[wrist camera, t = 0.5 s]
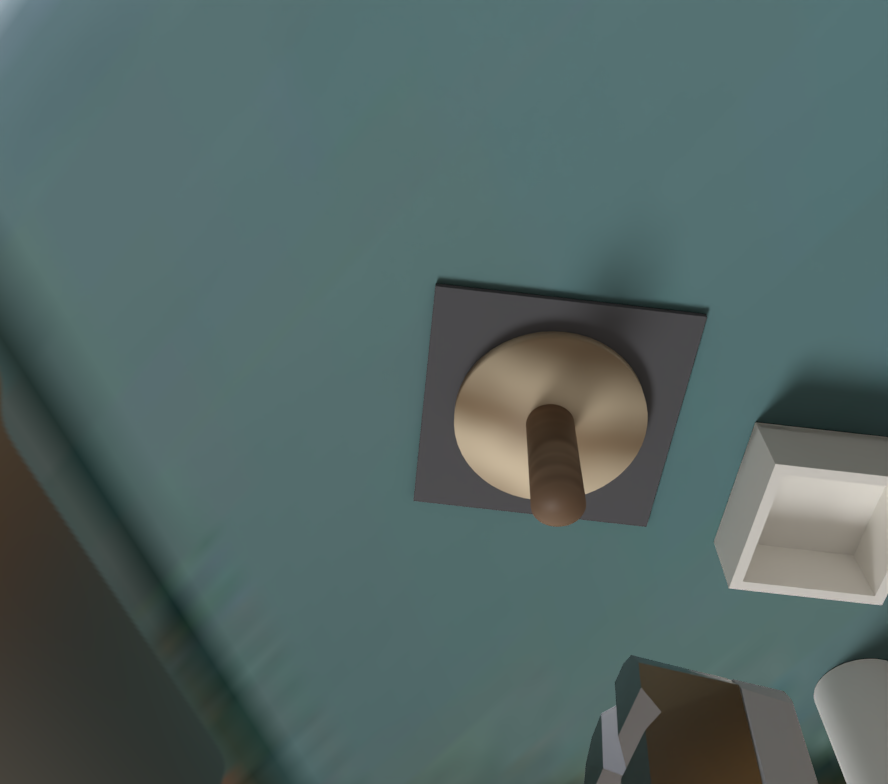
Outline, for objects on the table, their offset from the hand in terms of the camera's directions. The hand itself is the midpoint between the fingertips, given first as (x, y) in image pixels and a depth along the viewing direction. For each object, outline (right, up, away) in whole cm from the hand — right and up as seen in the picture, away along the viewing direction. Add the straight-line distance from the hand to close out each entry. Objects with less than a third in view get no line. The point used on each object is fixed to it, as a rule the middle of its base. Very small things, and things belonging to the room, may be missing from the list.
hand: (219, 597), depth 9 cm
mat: (+9, +1, +46) cm, 47 cm away
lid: (+9, +1, +45) cm, 46 cm away
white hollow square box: (+26, -5, +48) cm, 55 cm away
